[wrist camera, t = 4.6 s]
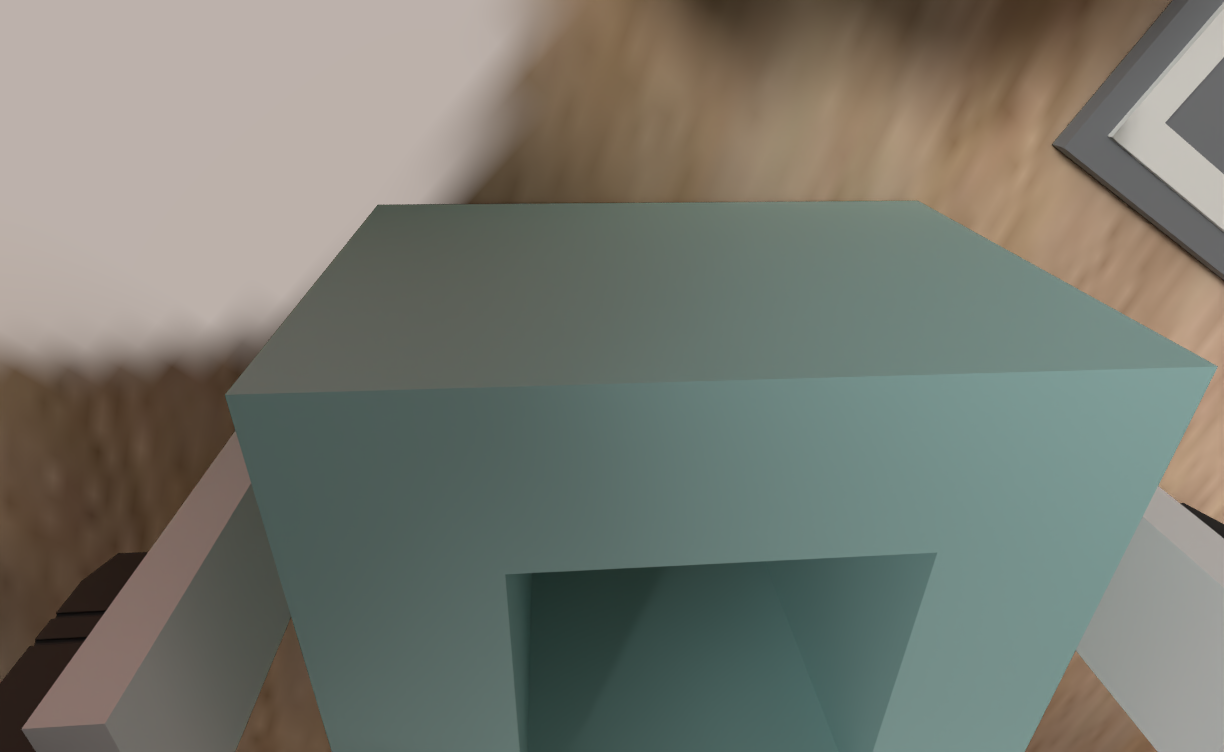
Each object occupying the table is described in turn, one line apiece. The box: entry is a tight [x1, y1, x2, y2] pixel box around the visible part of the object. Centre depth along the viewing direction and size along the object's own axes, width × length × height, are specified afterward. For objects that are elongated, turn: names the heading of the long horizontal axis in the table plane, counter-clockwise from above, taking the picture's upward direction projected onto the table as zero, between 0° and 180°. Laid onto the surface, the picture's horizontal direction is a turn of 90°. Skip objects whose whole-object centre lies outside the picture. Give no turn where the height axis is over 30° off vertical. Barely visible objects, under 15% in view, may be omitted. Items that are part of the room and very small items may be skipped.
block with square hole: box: [225, 201, 1218, 752], centre depth 11 cm, size 9×9×6 cm
